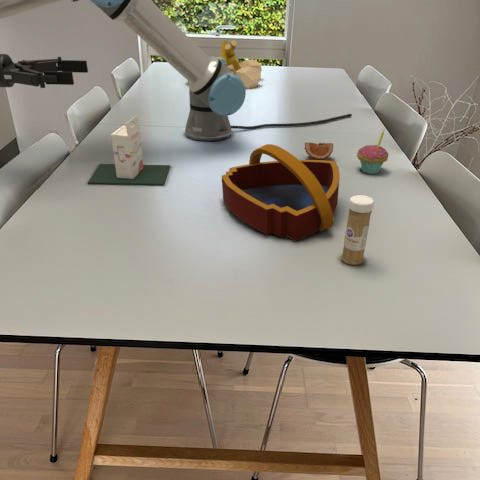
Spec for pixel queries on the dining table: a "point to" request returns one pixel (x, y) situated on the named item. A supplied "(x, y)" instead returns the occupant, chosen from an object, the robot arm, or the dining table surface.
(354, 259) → the sprinkles bottle
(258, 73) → the campfire
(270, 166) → the decorative basket
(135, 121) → the ink cartridge box
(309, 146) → the fruit slice
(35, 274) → the dining table surface
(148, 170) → the mat
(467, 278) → the dining table surface
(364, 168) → the cupcake
